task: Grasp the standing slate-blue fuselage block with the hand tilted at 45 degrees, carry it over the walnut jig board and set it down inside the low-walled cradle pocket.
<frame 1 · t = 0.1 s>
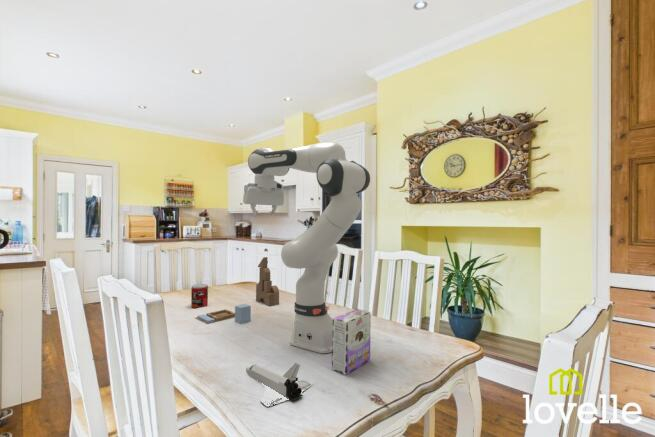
hand: (264, 215, 149), 48 cm above the table, tool pointing down, fingers open, 8 cm apart
space shuttle model: (270, 386, 94), on the table
canned food: (199, 307, 171), on the table
candy box: (351, 365, 106), on the table
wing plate: (205, 319, 146), point 1 cm above the table, touching jig
cream rectangular block: (219, 327, 141), on the table
wooden toy: (266, 302, 181), on the table
jig: (217, 319, 150), on the table
fuselage block: (242, 324, 145), on the table
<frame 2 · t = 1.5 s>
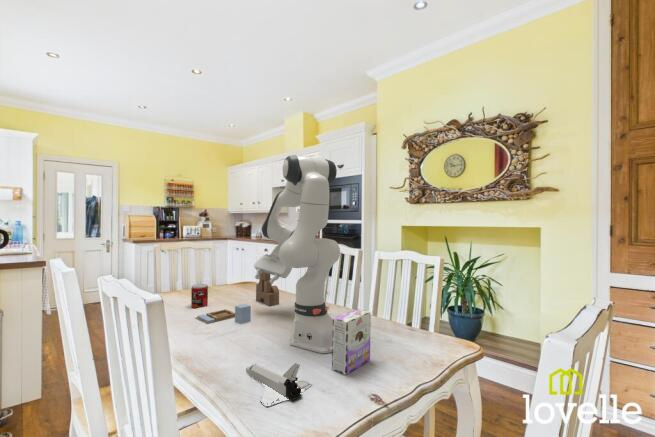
hand: (263, 280, 154), 17 cm above the table, tool tilted 45°, fingers open, 8 cm apart
nothing on the table moved.
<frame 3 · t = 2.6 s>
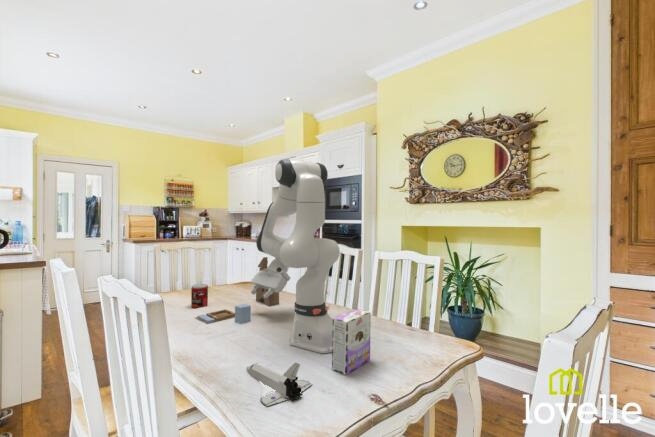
hand: (258, 295, 151), 11 cm above the table, tool tilted 45°, fingers open, 8 cm apart
nothing on the table moved.
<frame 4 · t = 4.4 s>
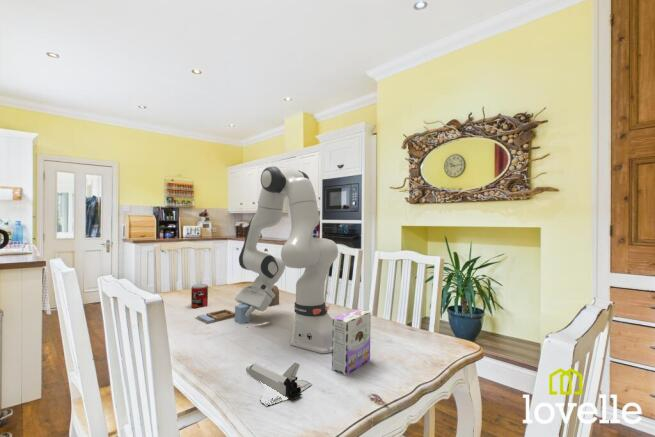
hand: (241, 314, 144), 4 cm above the table, tool tilted 45°, fingers closed on fuselage block, 4 cm apart
fuselage block: (242, 324, 145), on the table, touching gripper
everything else where it was.
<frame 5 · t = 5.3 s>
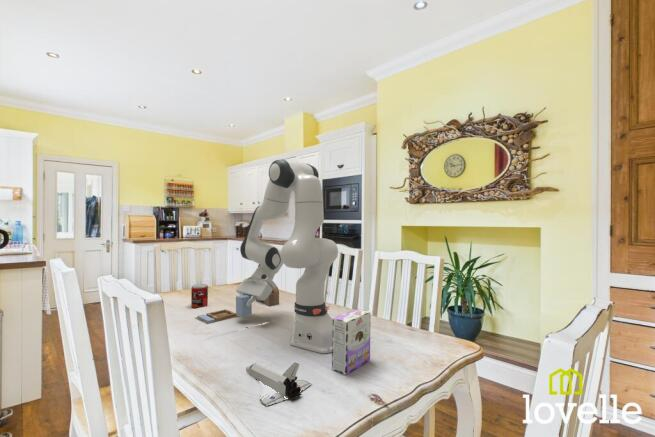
hand: (242, 304, 144), 9 cm above the table, tool tilted 45°, fingers closed on fuselage block, 4 cm apart
fuselage block: (243, 314, 144), point 4 cm above the table, touching gripper
everything else where it was.
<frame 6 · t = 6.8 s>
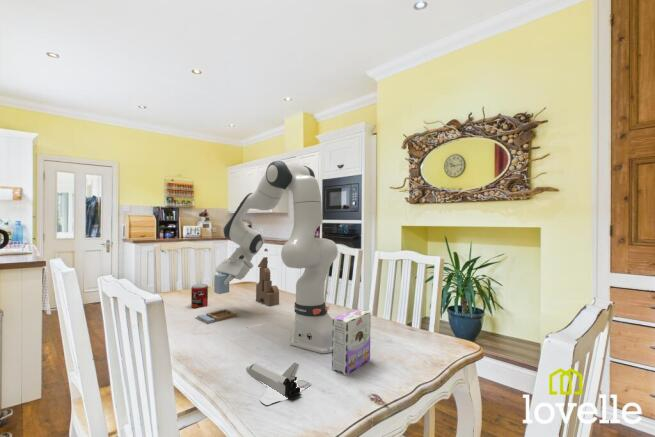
hand: (220, 283, 151), 17 cm above the table, tool tilted 45°, fingers closed on fuselage block, 4 cm apart
fuselage block: (221, 292, 152), point 12 cm above the table, touching gripper
everything else where it was.
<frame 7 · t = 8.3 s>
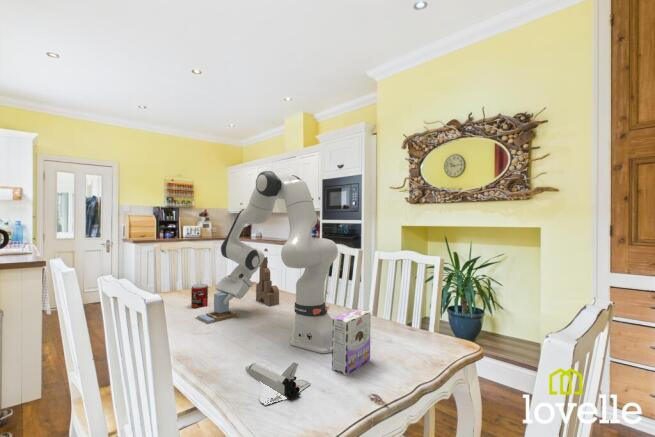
hand: (220, 301, 151), 8 cm above the table, tool tilted 45°, fingers closed on fuselage block, 4 cm apart
fuselage block: (221, 311, 152), point 4 cm above the table, touching gripper
everything else where it was.
when the fingers open (7 cm above the table, at t = 8.9 s): fuselage block drops 1 cm, resting on jig.
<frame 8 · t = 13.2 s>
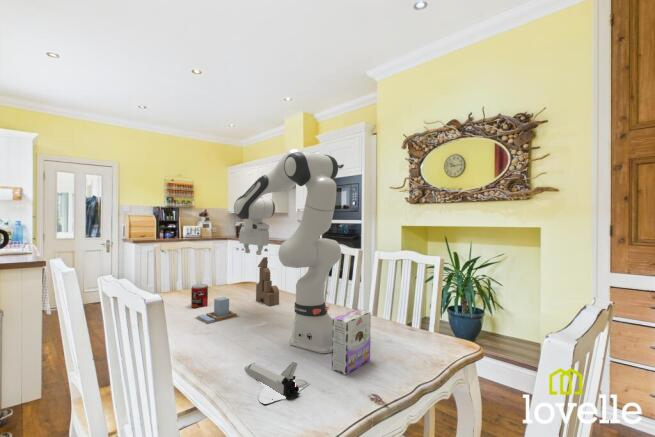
hand: (253, 253, 159), 29 cm above the table, tool pointing down, fingers open, 8 cm apart
fuselage block: (221, 316, 151), point 1 cm above the table, touching jig
at the end: fuselage block 0.1 cm from the target spot on the jig, point 1.2 cm above the jig's base; fuselage block tilted 0°; the gripper is holding nothing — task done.
